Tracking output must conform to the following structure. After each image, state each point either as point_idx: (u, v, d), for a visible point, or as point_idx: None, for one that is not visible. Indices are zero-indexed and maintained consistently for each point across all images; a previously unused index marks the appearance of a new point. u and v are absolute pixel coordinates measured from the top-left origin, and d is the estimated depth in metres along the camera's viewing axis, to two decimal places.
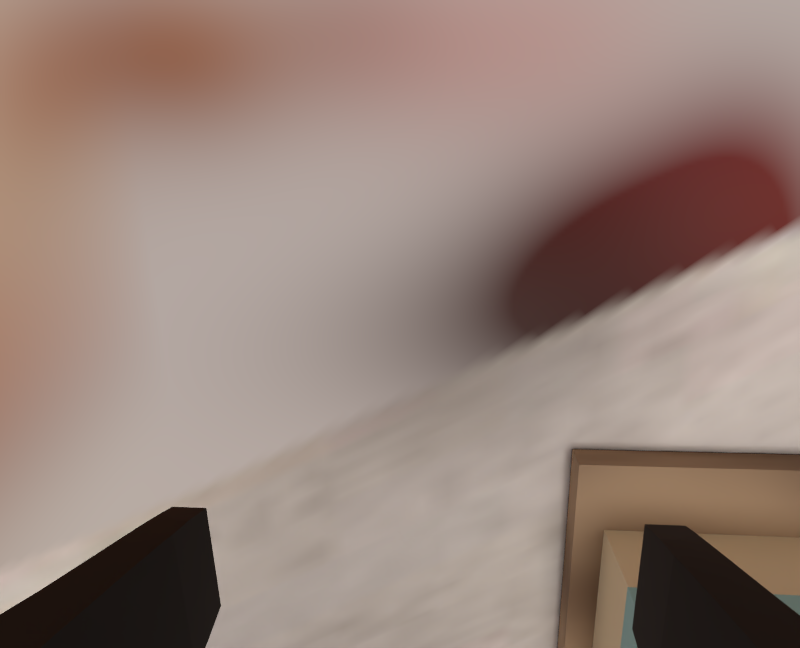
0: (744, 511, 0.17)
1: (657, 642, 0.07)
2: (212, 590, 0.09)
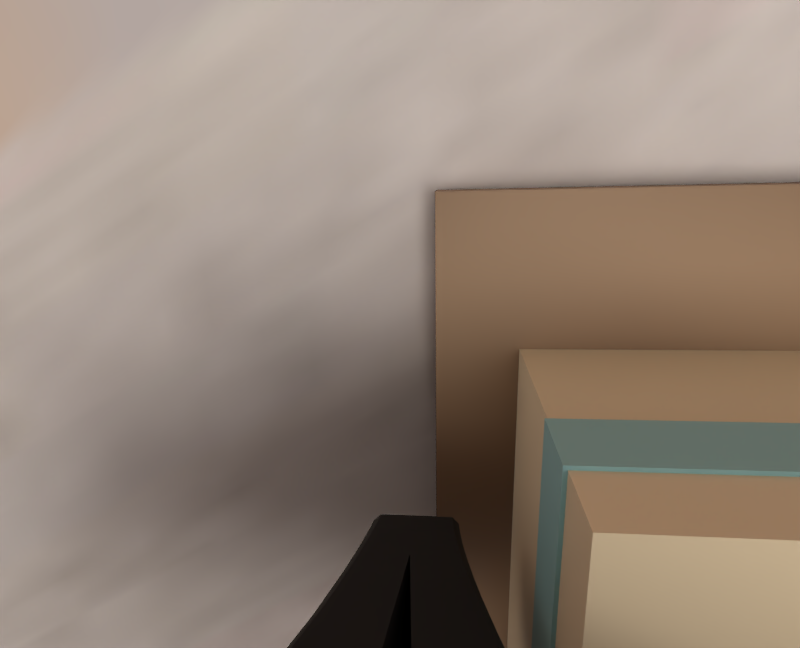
0: (796, 292, 0.08)
1: None
2: None
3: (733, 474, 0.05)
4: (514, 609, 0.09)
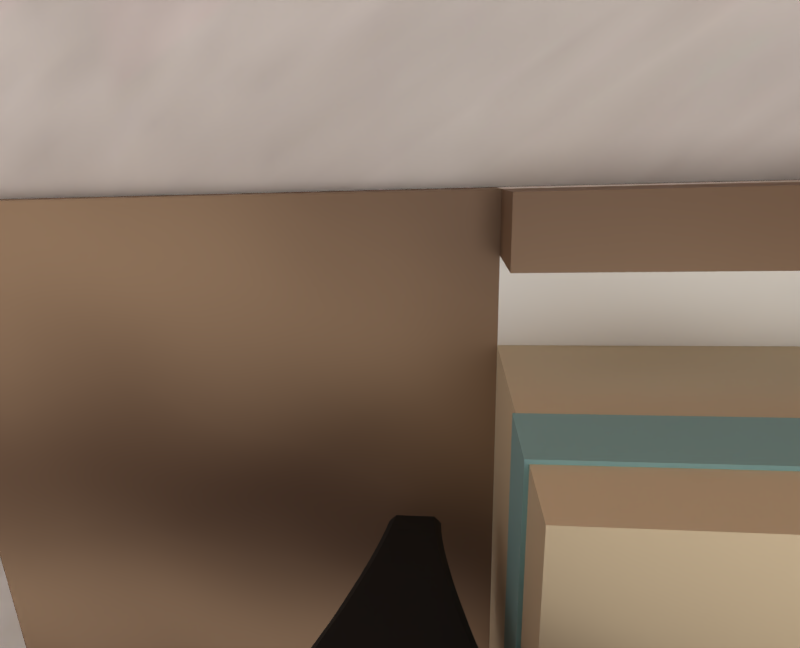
0: (218, 293, 0.09)
1: None
2: None
3: (694, 467, 0.05)
4: (494, 605, 0.09)
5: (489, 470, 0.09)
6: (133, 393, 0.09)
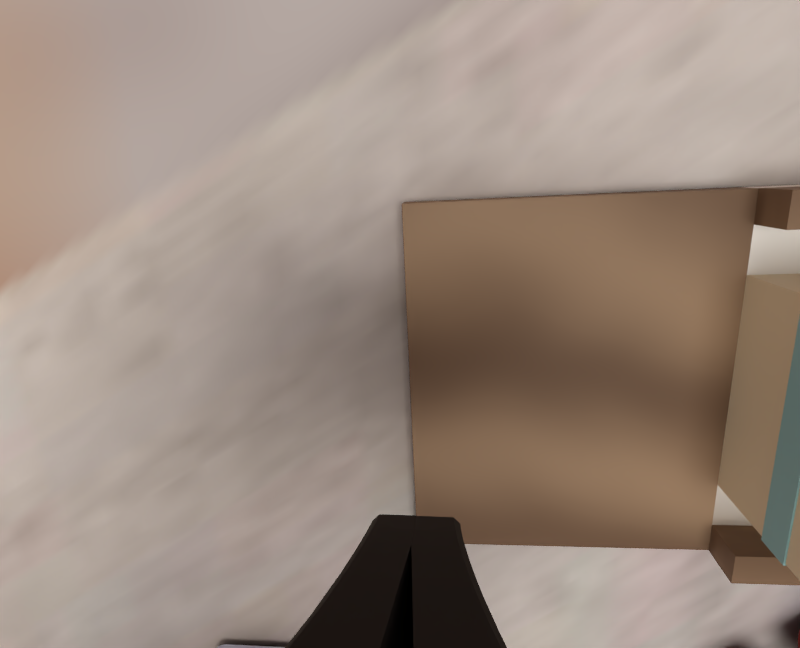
0: (585, 250, 0.15)
1: None
2: None
3: None
4: (739, 426, 0.16)
5: (733, 349, 0.16)
6: (521, 311, 0.16)
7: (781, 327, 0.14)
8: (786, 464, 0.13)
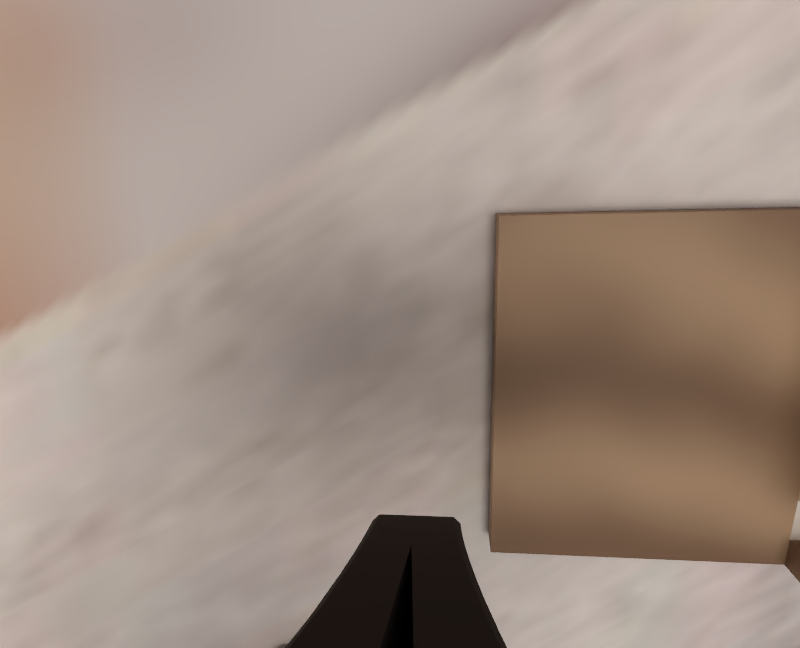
0: (681, 265, 0.15)
1: None
2: None
3: None
4: None
5: None
6: (612, 325, 0.16)
7: None
8: None
